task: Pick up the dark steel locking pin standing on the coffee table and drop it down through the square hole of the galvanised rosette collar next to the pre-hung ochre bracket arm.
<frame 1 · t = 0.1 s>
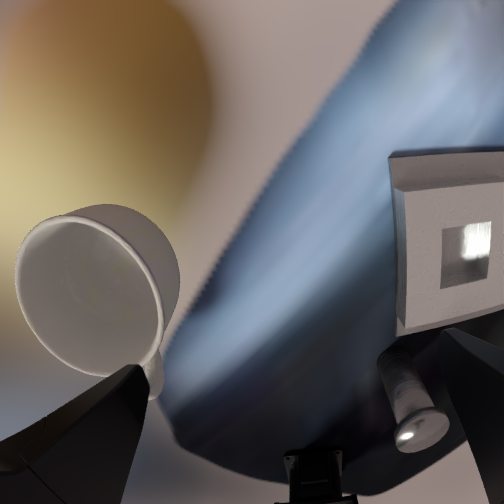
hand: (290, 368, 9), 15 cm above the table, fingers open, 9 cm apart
pin: (392, 360, 25), on the table
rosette: (451, 244, 21), on the table
teacup: (136, 277, 25), on the table
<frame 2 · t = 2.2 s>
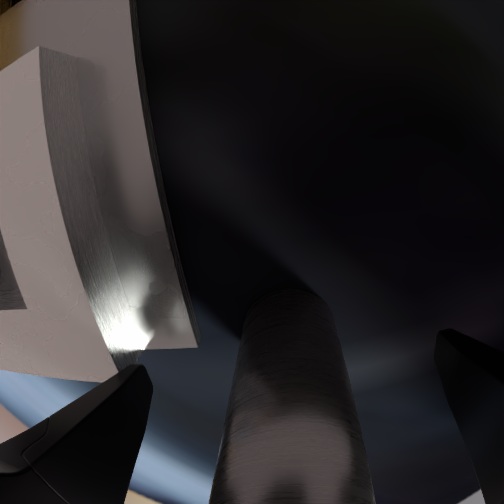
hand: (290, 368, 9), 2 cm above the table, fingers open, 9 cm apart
pin: (289, 329, 10), on the table
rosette: (13, 230, 10), on the table
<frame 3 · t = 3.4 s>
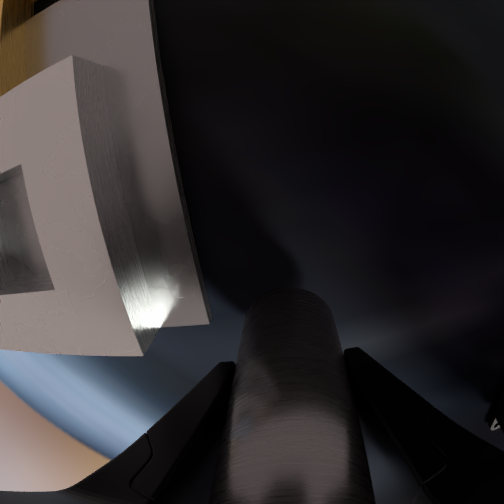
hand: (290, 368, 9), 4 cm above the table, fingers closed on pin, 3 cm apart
pin: (289, 328, 10), point 2 cm above the table, touching gripper
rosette: (37, 221, 12), on the table
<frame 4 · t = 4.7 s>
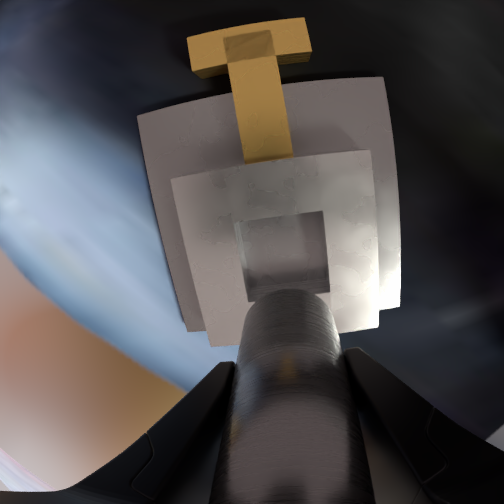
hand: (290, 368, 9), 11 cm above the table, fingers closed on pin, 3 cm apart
pin: (289, 329, 10), point 9 cm above the table, touching gripper
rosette: (283, 244, 19), on the table
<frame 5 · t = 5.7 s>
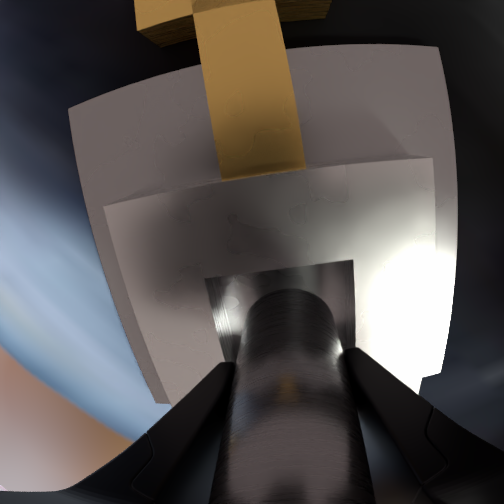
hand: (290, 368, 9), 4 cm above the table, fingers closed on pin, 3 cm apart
pin: (289, 329, 10), point 2 cm above the table, touching gripper
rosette: (285, 297, 13), on the table
when the fingers open (3 cm above the table, at t = 6.6 s): pin stays where it is, resting on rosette.
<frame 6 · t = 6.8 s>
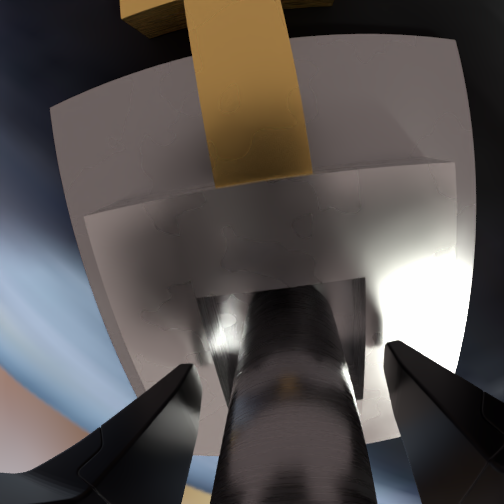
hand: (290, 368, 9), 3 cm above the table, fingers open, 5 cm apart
pin: (289, 323, 11), point 1 cm above the table, touching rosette
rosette: (287, 314, 11), on the table
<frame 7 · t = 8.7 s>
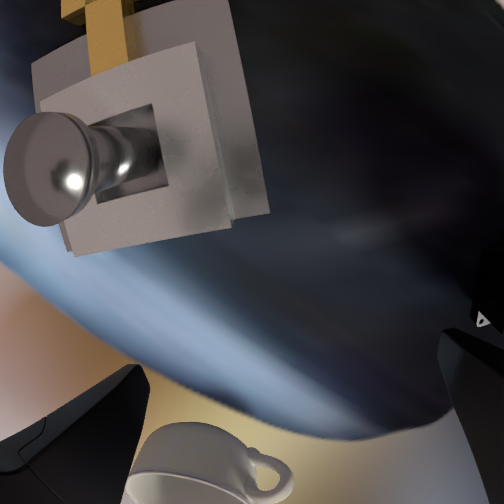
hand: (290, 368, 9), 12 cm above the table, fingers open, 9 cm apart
pin: (136, 152, 17), point 1 cm above the table, touching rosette
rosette: (139, 152, 18), on the table
teacup: (217, 439, 26), on the table
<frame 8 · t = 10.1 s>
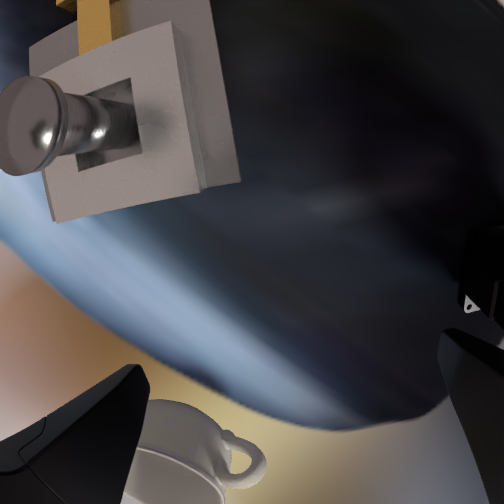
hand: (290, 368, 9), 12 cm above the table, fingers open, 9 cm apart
pin: (117, 125, 18), point 1 cm above the table, touching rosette
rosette: (121, 126, 18), on the table
teacup: (195, 421, 26), on the table
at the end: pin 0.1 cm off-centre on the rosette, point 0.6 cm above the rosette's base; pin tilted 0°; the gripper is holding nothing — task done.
